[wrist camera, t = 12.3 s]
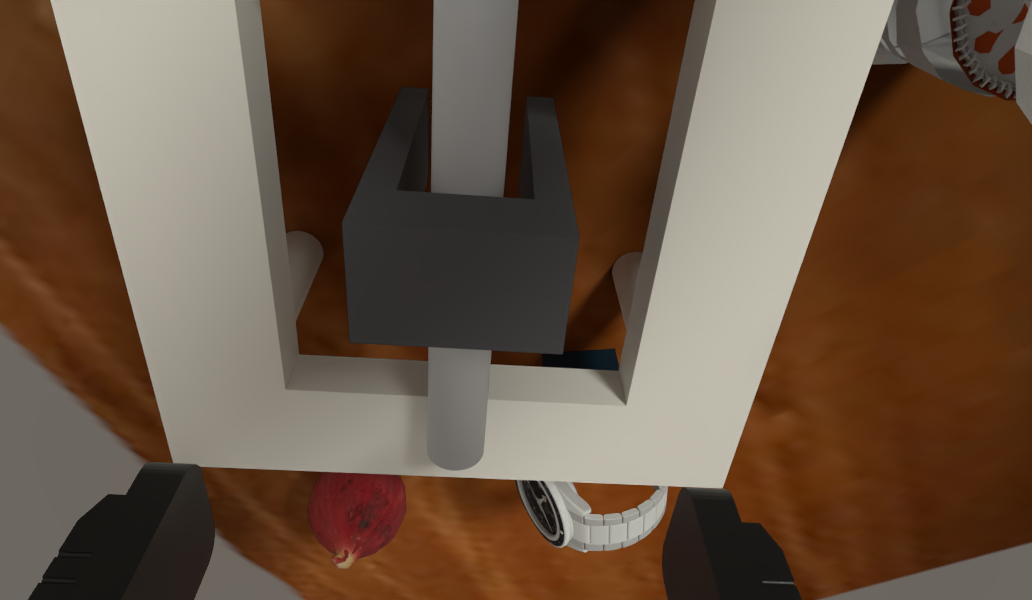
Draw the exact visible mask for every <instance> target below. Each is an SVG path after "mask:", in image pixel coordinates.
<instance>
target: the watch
mask: <svg viewBox="0 0 1032 600" xmlns="http://www.w3.org/2000/svg"><path fill="white" fill-rule="evenodd" d="M542 362H543V367H553V368H573V369H592V370H612V371H618V370H619V365H618V360H617V356H616V352H615V349H604V350H589V351H574V352H563V354H545V353H543V354H542ZM515 481H516V485H517V489H518V492H519V495H520V497H521V500H522V502H523V505H524V507H525V509H526V511H527V513H528V515H529V516H530V518H531V520H532V522H533V523H534V525H535V526H536V528H537V529H538V530H539V532H540V533H541V534H542V535H543V537H544V538H545V539H546V540H547V541H548V542H549V543H551V544H552V545H553V546H555V547H558V548H562V547H564V546H565V545H567V546H569V547H571V548H573V549H575V550H578V551H581V552H587V551H602V550H603V548H604V550H605V551H607V550H615V549H619V548H621V546H622V547H627V546H629V545H632V544H634V543H636V542H637V541H638V540H641V539H643V538H644V537H646V536H647V535H648V534H649V533H650V532H651V531H652V530H653V529H654V528H655V527H656V526H657V525H658V523H659V522H660V520H661V517H663V514H664V512H665V508H666V501H667V489H668V486H657V485H653V487H654V490H655V493H654V494H653V495H652V496H651V497H650V500H646V501H645V502H644V503H642V504H640V505H639V506H638V508H637V509H636V508H633V509H630V510H628V511H624V512H622V516H621V514H619V513H615V514H605V515H604V521H603V517H602V515H599V514H588V513H590V512H591V508H590V506H589V505H588V503H586V502H585V501H584V500H583V499H582V498H581V497H580V496H578V493H577V491H576V489H575V487H574V484H573V483H572V482H560V481H536V480H515Z"/></svg>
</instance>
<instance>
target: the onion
mask: <svg viewBox="0 0 1032 600" xmlns="http://www.w3.org/2000/svg"><path fill="white" fill-rule="evenodd" d="M405 512H406V496H405V486H404V484H403V482H402V480H401V478H400V476H399V475H391V474H367V473H342V472H323V473H322V474H321V475H320V476H319V477H318V478H317V480H316V482H315V484H314V486H313V489H312V492H311V495H310V499H309V503H308V509H307V513H308V520H309V522H310V525H311V527H312V530H313V532H314V534H315V537H316V538H317V540H318V541H319V543H320V544H322V545H323V546H324V547H325V548H326V549H327V550H328V551H329V552H331V553H333V554H335V555H334V556H333V557H332V559H331V560H332V562H333V564H334V565H335V566H336V567H337V568H338V569H343V568H349V567H350V566H351V565H352V564H353V563H354V562H355V561H356V560H357V559H358V558H363V557H366V556H369V555H372V554H374V553H376V552H377V551H378V550H380V549H381V548H383V547H384V546H385V545H387V544H388V543H389V542H390V541H391V540H392V539H393V538H394V536H395V534H396V532H397V531H398V529H399V527H400V525H401V523H402V521H403V519H404V516H405Z"/></svg>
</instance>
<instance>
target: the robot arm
mask: <svg viewBox="0 0 1032 600" xmlns="http://www.w3.org/2000/svg"><path fill="white" fill-rule="evenodd" d="M214 538H215V525H214V520H213V516H212V512H211V507H210V503H209V499H208V495H207V491H206V487H205V483H204V478H203V474H202V471H201V468H200V466H199V465H197V464H184V463H161V462H149V463H147V464H145V465H144V466H143V468H142V469H141V470H140V472H139V473H138V475H137V477H136V478H135V480H134V482H133V483H132V485H131V487H130V489H129V490H128V492H127V494H126V495H113V494H108V495H107V496H106V497H105V498H103V499H102V500H101V501H100V502H99V503H97V504H96V505H95V506H94V507H93V508H92V509H91V510H89V511H88V512H87V513H86V514H85V515H84V516H82V517H81V518H80V519H79V520H78V521H77V523H76V524H75V526H74V527H73V529H72V531H71V532H70V534H69V535H68V537H67V538H66V540H65V542H64V543H63V545H62V546H61V548H60V550H59V554H58V557H55V558H54V559H53V561H52V562H51V564H50V565H49V567H48V569H47V570H46V572H45V573H44V575H43V580H42V582H41V583H38V585H37V587H36V588H35V590H34V591H33V592H32V594H31V596H30V597H29V599H28V600H194V598H195V596H196V593H197V591H198V589H199V586H200V584H201V581H202V579H203V576H204V574H205V571H206V569H207V567H208V564H209V561H210V558H211V555H212V551H213V546H214ZM662 569H663V578H664V584H665V588H666V593H667V598H668V600H802V599H801V597H800V594H799V591H798V589H797V587H796V586H794V579H793V576H792V574H791V571H790V569H789V566H788V564H787V561H786V558H785V556H784V553H783V551H782V549H781V548H780V547H779V546H778V544H777V543H776V542H775V541H774V540H773V538H772V537H771V536H770V535H769V534H768V532H767V531H766V530H765V529H764V528H763V527H762V525H761V524H760V523H743V522H741V519H740V516H739V514H738V511H737V508H736V505H735V502H734V499H733V497H732V495H731V493H730V492H729V491H728V490H727V489H711V488H688V487H684V488H682V489H681V490H680V492H679V495H678V498H677V502H676V505H675V508H674V511H673V515H672V518H671V521H670V525H669V528H668V531H667V534H666V538H665V541H664V545H663V553H662Z"/></svg>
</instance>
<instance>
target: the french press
mask: <svg viewBox="0 0 1032 600" xmlns="http://www.w3.org/2000/svg"><path fill="white" fill-rule="evenodd" d="M908 62H909V63H910V64H912V65H914V66H916V67H917V68H919V69H921V70H923V71H925V72H927V73H929V74H931V75H933V76H935V77H937V78H939V79H941V80H943V81H946V82H948V83H950V84H953V85H955V86H957V87H960V88H962V89H964V90H967V91H970V92H974V93H977V94H981V95H985V96H997V97H1000V98H1002V99H1004V100H1016V102H1017V104H1018V105H1019V107H1020V108H1021V110H1022V111H1023V113H1024V114H1025V115H1026V117H1027V118H1028V120H1029V121H1030V123H1031V124H1032V0H894V2H893V5H892V8H891V11H890V14H889V16H888V19H887V22H886V25H885V28H884V31H883V34H882V36H881V39H880V42H879V45H878V48H877V51H876V53H875V56H874V59H873V62H872V65H873V64H906V63H908Z"/></svg>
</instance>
